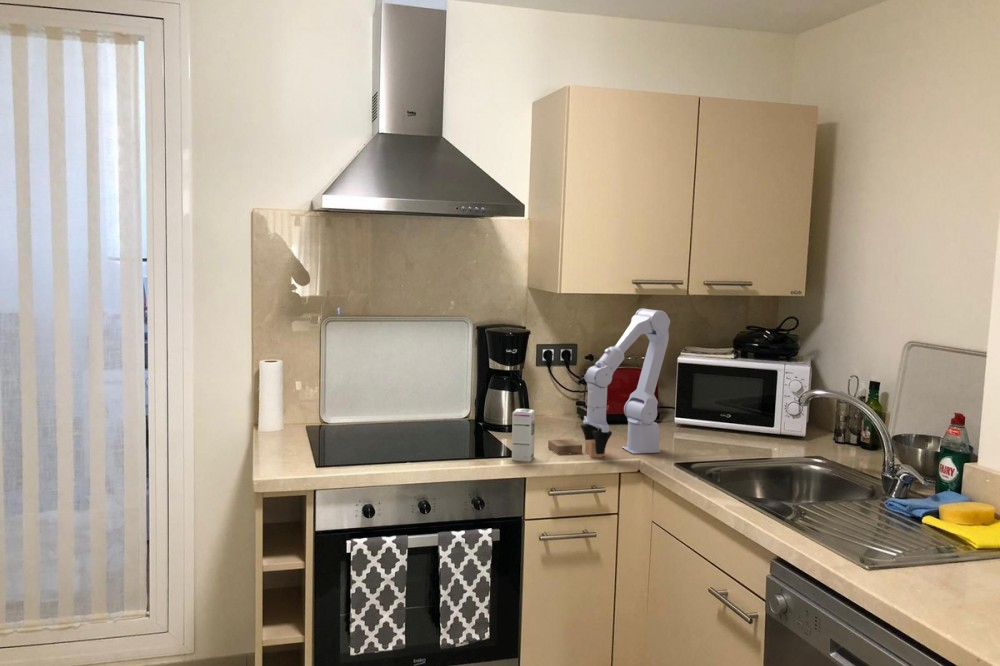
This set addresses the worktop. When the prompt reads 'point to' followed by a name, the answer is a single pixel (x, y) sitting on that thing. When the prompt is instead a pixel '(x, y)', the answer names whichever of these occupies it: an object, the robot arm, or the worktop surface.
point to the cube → (592, 449)
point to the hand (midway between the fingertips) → (595, 450)
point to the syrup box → (523, 435)
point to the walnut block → (565, 446)
